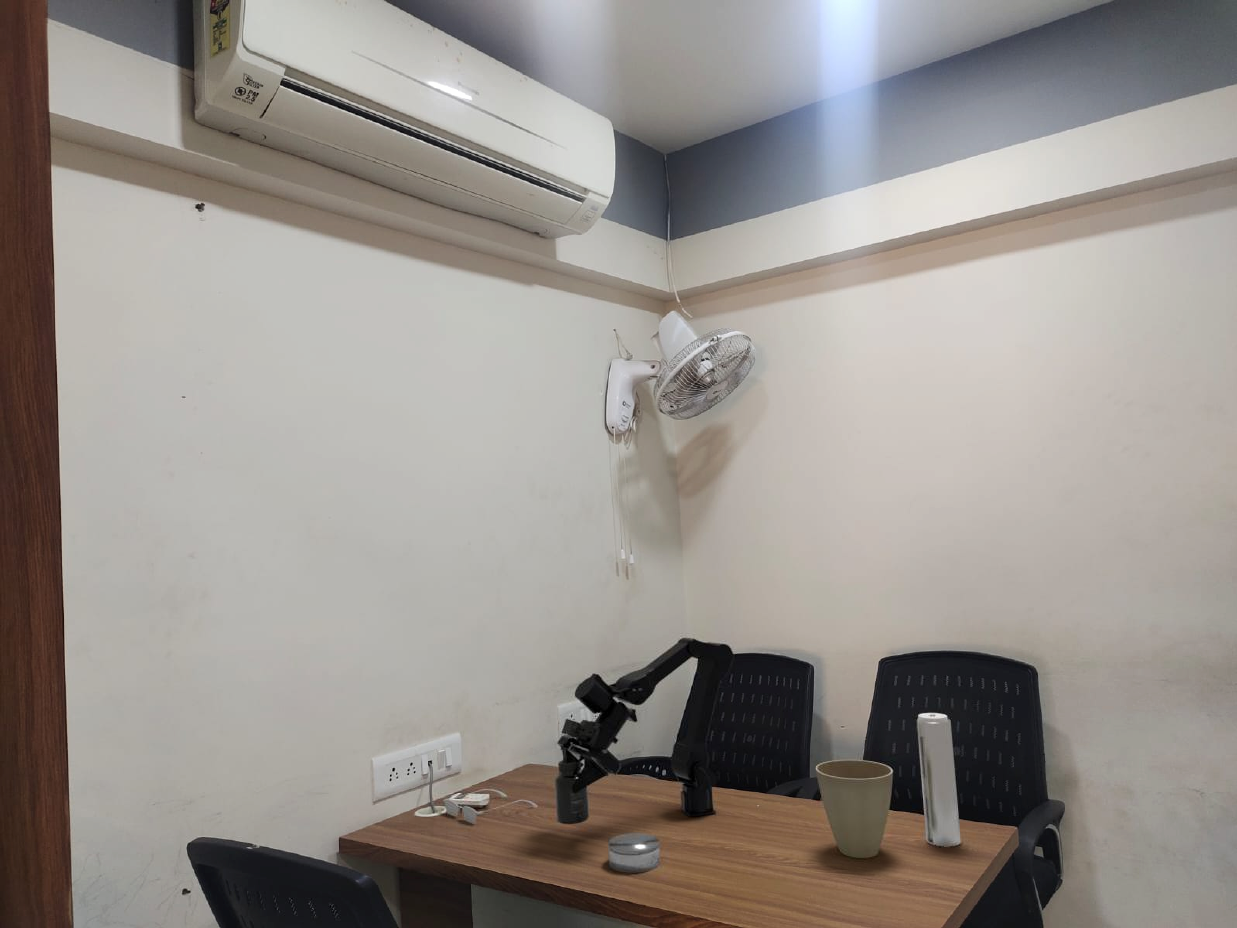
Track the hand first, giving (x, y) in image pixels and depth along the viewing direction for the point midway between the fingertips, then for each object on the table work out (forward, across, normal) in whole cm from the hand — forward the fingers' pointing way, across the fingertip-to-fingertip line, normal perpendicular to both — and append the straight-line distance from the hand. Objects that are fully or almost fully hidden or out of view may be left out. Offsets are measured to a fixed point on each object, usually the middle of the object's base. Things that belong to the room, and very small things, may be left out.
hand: (565, 788), depth 176 cm
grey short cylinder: (+4, +17, +12) cm, 21 cm away
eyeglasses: (+11, -34, +7) cm, 36 cm away
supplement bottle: (+4, 0, +6) cm, 7 cm away
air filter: (-34, +47, +52) cm, 78 cm away
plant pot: (-22, +40, +40) cm, 61 cm away
